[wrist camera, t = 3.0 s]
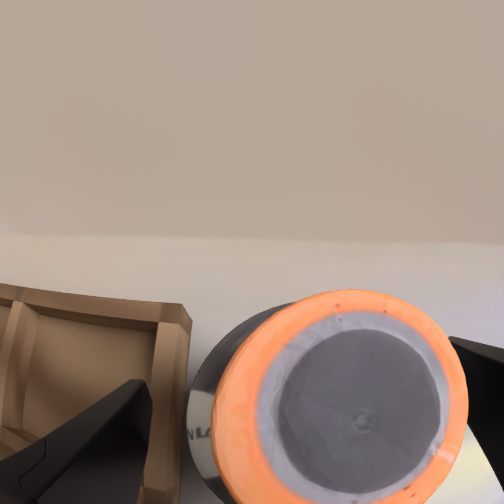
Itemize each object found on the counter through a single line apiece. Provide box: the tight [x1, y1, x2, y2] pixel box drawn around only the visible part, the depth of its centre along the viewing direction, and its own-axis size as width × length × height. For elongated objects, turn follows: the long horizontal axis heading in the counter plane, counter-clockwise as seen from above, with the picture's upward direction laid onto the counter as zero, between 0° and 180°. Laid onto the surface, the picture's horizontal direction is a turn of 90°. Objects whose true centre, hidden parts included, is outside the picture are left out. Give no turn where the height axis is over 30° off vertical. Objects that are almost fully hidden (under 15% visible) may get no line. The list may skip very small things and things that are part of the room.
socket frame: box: [0, 283, 192, 504], centre depth 11 cm, size 13×22×2 cm, turn 88°
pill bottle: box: [186, 289, 468, 504], centre depth 8 cm, size 6×6×11 cm
